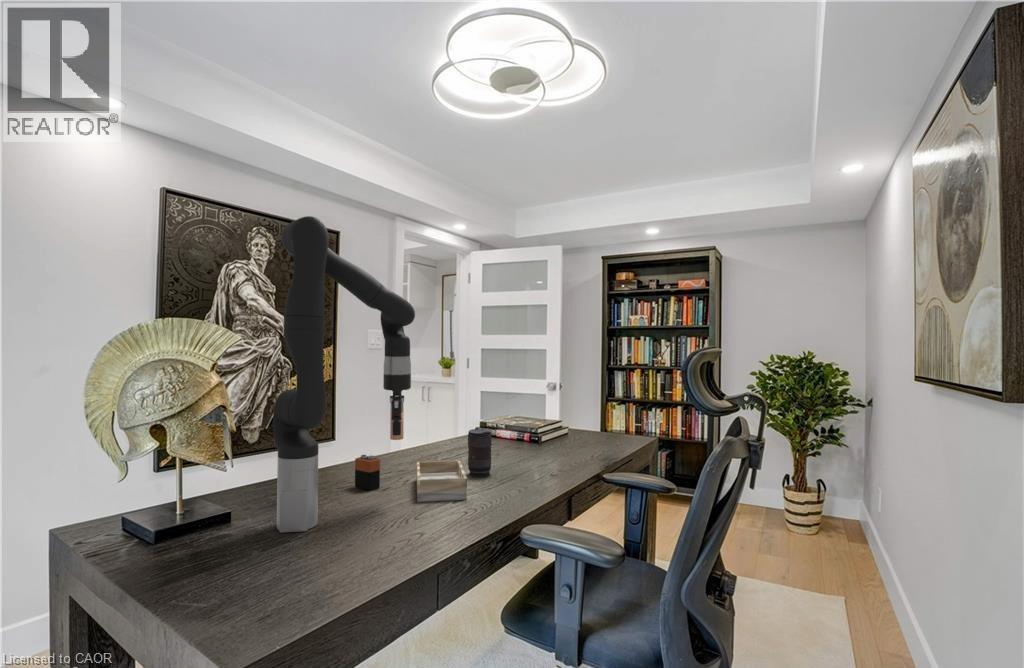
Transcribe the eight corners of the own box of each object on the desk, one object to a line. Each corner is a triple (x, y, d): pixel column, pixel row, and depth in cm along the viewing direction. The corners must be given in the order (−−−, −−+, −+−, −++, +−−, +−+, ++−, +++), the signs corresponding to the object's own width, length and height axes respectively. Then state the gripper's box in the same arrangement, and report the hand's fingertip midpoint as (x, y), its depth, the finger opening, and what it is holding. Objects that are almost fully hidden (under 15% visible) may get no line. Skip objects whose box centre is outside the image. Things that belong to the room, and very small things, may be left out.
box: (466, 499, 147) (466, 478, 147) (417, 501, 145) (417, 480, 145) (459, 478, 169) (460, 460, 169) (416, 480, 166) (416, 461, 166)
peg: (403, 439, 142) (403, 407, 142) (389, 440, 142) (390, 407, 142) (403, 437, 146) (403, 405, 146) (390, 437, 145) (390, 405, 145)
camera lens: (462, 475, 173) (463, 430, 173) (477, 470, 180) (477, 427, 180) (481, 479, 169) (481, 433, 169) (496, 474, 175) (496, 430, 175)
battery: (369, 491, 154) (369, 458, 154) (354, 487, 158) (354, 455, 158) (380, 488, 158) (380, 455, 158) (365, 484, 161) (365, 452, 161)
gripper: (410, 374, 138) (410, 438, 138) (411, 370, 151) (410, 428, 151) (382, 374, 136) (381, 439, 136) (384, 370, 150) (384, 429, 150)
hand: (396, 433), depth 144 cm, fingers closed on peg, 3 cm apart
